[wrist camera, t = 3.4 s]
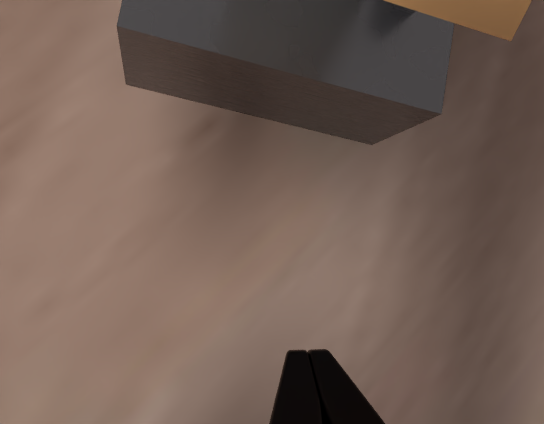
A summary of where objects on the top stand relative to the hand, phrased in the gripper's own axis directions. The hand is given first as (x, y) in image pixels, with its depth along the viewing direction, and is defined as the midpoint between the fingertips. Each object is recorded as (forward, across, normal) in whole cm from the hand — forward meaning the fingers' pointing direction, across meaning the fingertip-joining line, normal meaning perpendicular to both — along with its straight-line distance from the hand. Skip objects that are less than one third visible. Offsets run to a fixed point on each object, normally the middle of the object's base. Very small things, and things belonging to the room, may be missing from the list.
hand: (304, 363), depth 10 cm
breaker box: (+18, -1, -3) cm, 18 cm away
